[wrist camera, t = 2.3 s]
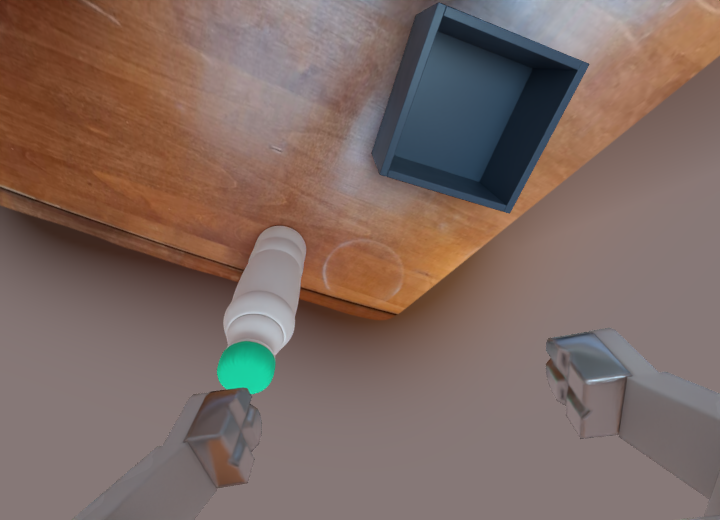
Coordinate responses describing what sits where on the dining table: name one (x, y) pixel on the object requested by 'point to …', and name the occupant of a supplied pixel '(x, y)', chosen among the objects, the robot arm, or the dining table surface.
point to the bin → (472, 108)
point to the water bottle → (262, 310)
